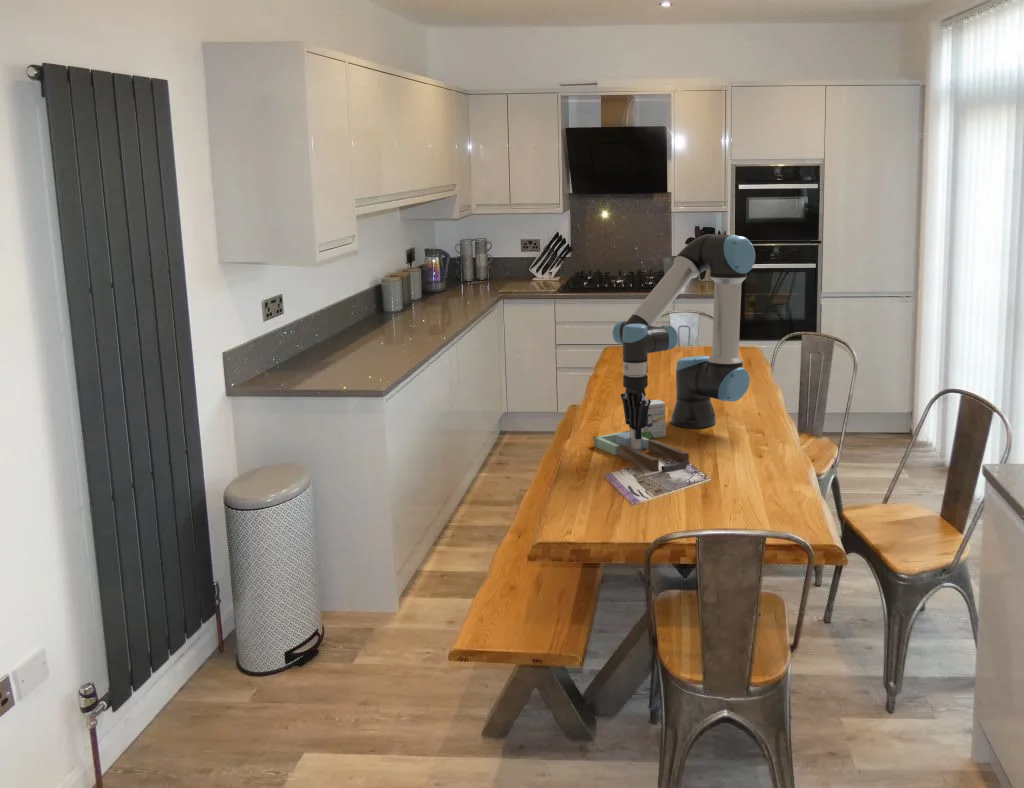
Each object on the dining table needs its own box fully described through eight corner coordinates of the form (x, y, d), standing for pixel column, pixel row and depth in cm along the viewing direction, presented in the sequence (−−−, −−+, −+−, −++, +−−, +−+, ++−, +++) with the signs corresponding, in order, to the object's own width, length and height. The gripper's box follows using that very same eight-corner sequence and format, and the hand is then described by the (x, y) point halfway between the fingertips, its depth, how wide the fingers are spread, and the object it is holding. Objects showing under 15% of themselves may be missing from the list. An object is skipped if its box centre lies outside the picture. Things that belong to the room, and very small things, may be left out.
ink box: (659, 433, 337) (659, 399, 335) (666, 437, 333) (666, 402, 330) (636, 436, 335) (635, 401, 333) (642, 439, 330) (641, 404, 328)
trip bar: (683, 466, 301) (683, 461, 301) (686, 467, 300) (686, 462, 299) (661, 470, 297) (661, 466, 297) (664, 472, 296) (664, 467, 296)
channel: (653, 450, 318) (653, 439, 318) (688, 464, 303) (688, 453, 302) (619, 456, 313) (619, 446, 312) (653, 471, 297) (653, 460, 296)
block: (631, 446, 323) (631, 431, 322) (642, 451, 318) (642, 435, 317) (615, 449, 320) (615, 434, 319) (626, 454, 315) (626, 438, 314)
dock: (627, 439, 331) (627, 430, 330) (650, 448, 320) (650, 439, 319) (594, 446, 325) (594, 437, 325) (615, 455, 314) (615, 446, 314)
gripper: (613, 372, 314) (614, 445, 319) (637, 379, 303) (638, 455, 308) (633, 369, 317) (633, 441, 323) (657, 376, 306) (658, 451, 312)
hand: (635, 448), depth 315 cm, fingers closed
